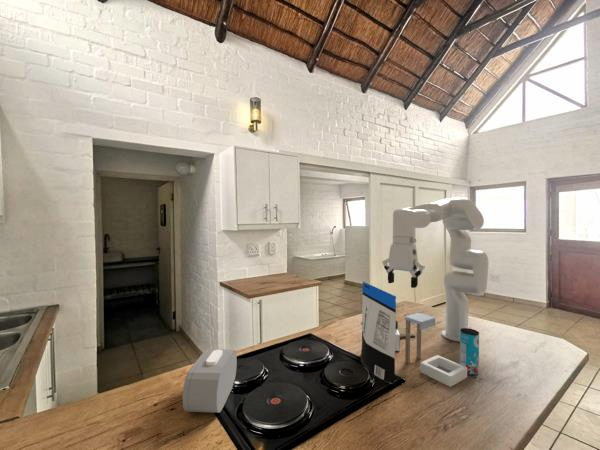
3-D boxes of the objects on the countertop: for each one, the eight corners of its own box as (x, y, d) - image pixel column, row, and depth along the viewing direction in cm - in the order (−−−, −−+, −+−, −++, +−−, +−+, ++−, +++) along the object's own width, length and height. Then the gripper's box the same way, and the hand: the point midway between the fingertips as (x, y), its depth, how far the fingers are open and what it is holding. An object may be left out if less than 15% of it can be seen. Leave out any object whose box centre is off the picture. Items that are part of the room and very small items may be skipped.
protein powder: (381, 388, 91) (383, 297, 91) (351, 354, 115) (352, 281, 115) (407, 384, 93) (408, 295, 93) (372, 352, 117) (373, 280, 117)
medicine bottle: (399, 351, 118) (400, 323, 118) (382, 349, 119) (382, 321, 119) (397, 344, 125) (397, 317, 125) (380, 342, 126) (381, 316, 126)
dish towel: (389, 321, 155) (389, 317, 155) (416, 338, 133) (416, 333, 133) (361, 323, 151) (361, 319, 151) (384, 342, 128) (384, 336, 128)
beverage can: (475, 378, 98) (476, 335, 98) (457, 371, 102) (457, 330, 102) (480, 372, 102) (481, 331, 102) (463, 365, 106) (463, 326, 106)
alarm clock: (208, 379, 95) (209, 340, 95) (236, 380, 95) (236, 341, 95) (181, 423, 74) (181, 373, 74) (216, 424, 74) (216, 374, 74)
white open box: (419, 356, 114) (420, 312, 114) (467, 377, 98) (467, 326, 98) (402, 363, 108) (403, 316, 108) (450, 387, 92) (451, 333, 92)
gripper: (429, 242, 104) (428, 287, 104) (388, 239, 117) (388, 280, 117) (419, 242, 99) (418, 290, 99) (378, 240, 112) (377, 282, 112)
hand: (402, 285), depth 108 cm, fingers open, 9 cm apart
